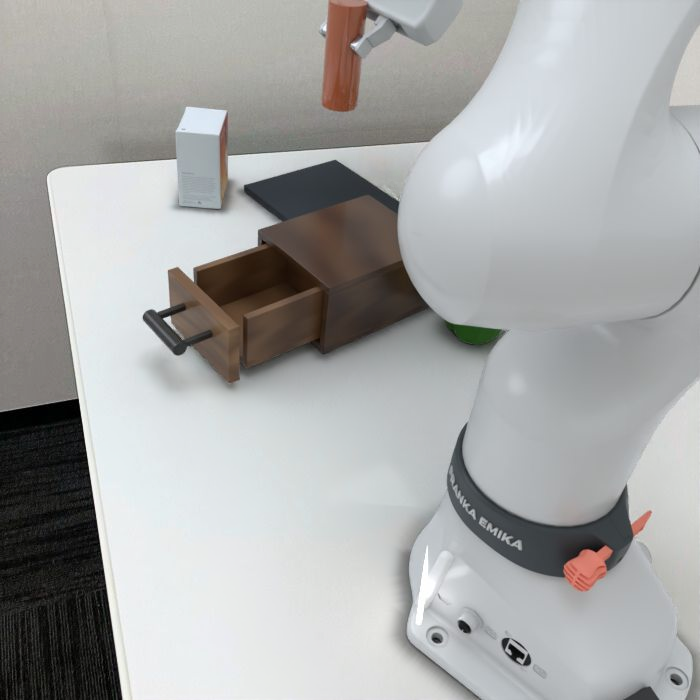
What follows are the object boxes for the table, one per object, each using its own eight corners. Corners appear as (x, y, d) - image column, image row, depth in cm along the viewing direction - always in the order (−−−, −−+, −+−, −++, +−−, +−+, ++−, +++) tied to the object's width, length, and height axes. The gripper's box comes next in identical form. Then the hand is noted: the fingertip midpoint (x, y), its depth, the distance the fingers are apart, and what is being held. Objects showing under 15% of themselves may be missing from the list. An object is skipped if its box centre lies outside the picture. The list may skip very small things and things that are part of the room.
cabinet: (323, 354, 82) (329, 288, 76) (256, 294, 89) (257, 229, 83) (429, 307, 90) (442, 244, 84) (360, 255, 97) (368, 194, 91)
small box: (221, 210, 102) (220, 135, 95) (178, 206, 102) (174, 131, 95) (229, 181, 108) (228, 109, 101) (188, 178, 108) (185, 105, 101)
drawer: (189, 401, 73) (186, 346, 69) (132, 337, 79) (126, 283, 75) (344, 334, 83) (350, 282, 79) (283, 281, 89) (285, 231, 85)
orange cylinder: (364, 107, 94) (375, 3, 86) (336, 114, 91) (345, 8, 84) (342, 94, 96) (351, -8, 88) (313, 100, 94) (320, -4, 86)
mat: (427, 227, 104) (428, 220, 103) (333, 261, 95) (334, 254, 95) (335, 165, 115) (335, 159, 114) (243, 191, 106) (243, 184, 106)
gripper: (344, -98, 91) (272, 0, 92) (468, -52, 79) (385, 58, 80) (368, -59, 96) (301, 33, 97) (488, -11, 85) (410, 92, 86)
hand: (340, 45), depth 89 cm, fingers closed on orange cylinder, 4 cm apart
